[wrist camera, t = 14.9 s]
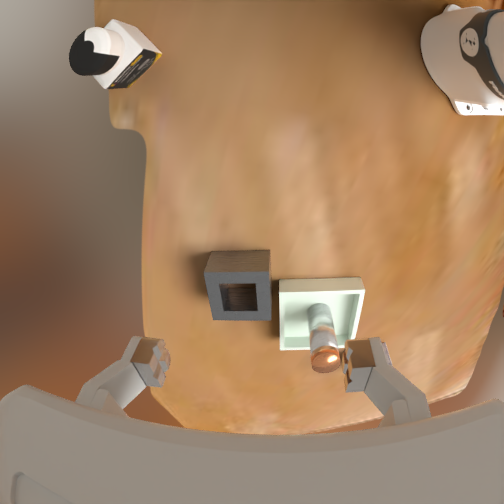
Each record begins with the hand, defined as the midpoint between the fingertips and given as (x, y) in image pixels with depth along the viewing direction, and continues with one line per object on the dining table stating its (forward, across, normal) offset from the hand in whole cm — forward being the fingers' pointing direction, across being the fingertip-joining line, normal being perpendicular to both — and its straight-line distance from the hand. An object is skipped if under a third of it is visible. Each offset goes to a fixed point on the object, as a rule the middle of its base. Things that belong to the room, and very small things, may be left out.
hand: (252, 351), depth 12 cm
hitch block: (+32, +6, +18) cm, 37 cm away
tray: (+32, -7, +26) cm, 42 cm away
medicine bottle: (+32, +18, -19) cm, 41 cm away
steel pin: (+31, -7, +26) cm, 41 cm away
